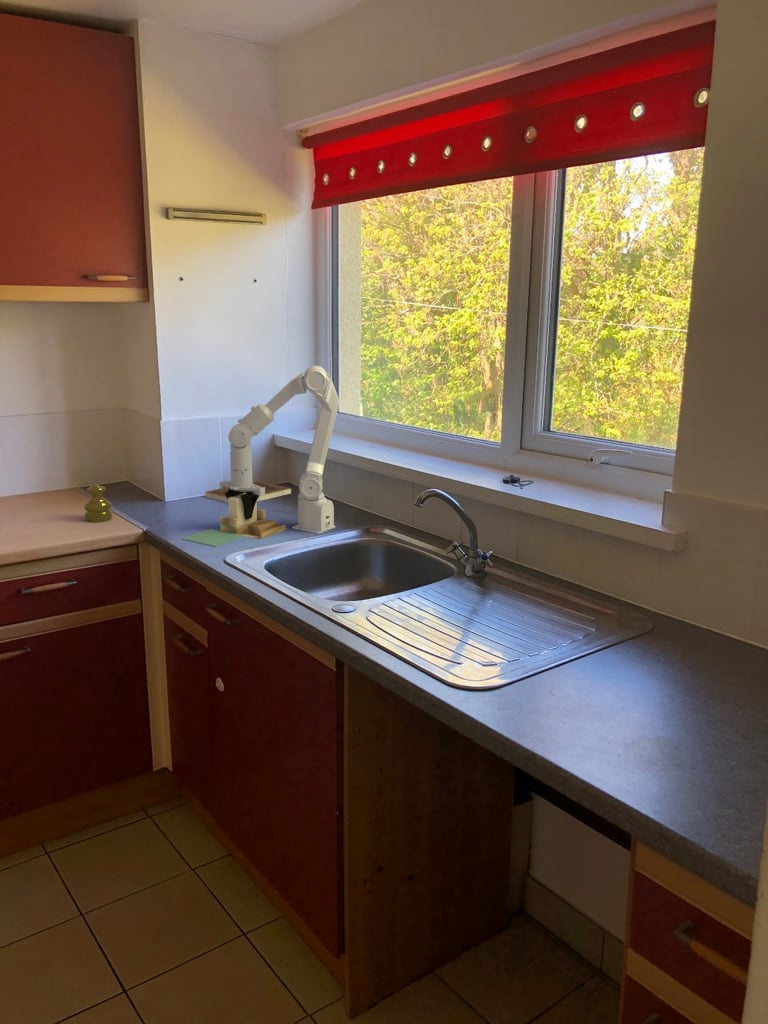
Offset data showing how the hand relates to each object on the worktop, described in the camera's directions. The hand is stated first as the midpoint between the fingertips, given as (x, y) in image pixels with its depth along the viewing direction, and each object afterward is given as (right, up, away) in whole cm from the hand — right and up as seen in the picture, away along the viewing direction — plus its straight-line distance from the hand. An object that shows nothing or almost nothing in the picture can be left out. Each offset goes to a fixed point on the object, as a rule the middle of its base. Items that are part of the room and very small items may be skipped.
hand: (243, 517), depth 229 cm
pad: (-6, -6, -9) cm, 12 cm away
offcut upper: (+6, -3, -3) cm, 7 cm away
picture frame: (-5, +6, +39) cm, 40 cm away
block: (0, -3, +1) cm, 3 cm away
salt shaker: (-43, -1, +10) cm, 44 cm away
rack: (+3, -4, -1) cm, 5 cm away
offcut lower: (+6, -4, -3) cm, 8 cm away
